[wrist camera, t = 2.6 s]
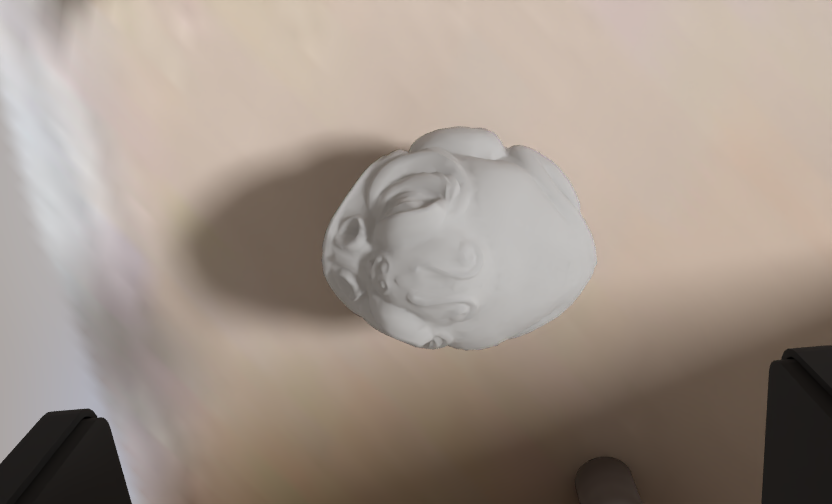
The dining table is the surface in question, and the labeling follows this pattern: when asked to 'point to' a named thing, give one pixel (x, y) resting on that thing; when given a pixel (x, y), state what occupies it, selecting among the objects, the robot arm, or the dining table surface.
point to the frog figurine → (459, 242)
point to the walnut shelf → (606, 483)
